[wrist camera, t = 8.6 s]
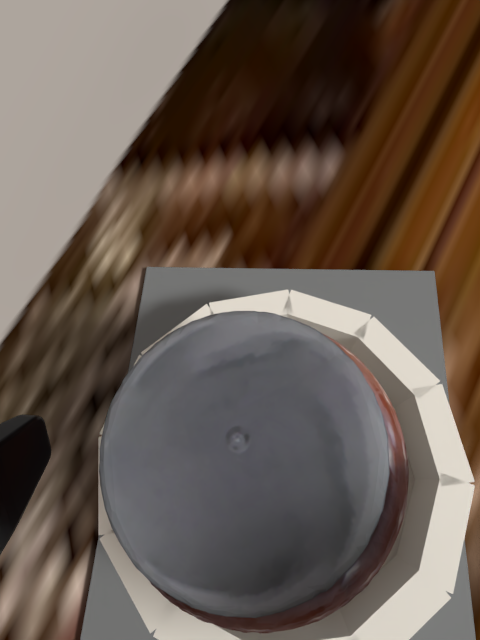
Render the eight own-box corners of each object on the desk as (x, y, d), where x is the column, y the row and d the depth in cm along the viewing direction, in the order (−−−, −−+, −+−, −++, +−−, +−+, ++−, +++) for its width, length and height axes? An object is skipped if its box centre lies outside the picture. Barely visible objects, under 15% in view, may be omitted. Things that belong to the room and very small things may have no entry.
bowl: (499, 491, 15) (556, 494, 12) (252, 728, 14) (242, 804, 10) (293, 278, 20) (294, 238, 16) (83, 437, 18) (39, 427, 15)
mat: (486, 779, 13) (492, 788, 13) (71, 712, 15) (66, 718, 14) (431, 275, 19) (434, 271, 19) (149, 270, 21) (146, 267, 21)
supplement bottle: (168, 446, 17) (-35, 382, 6) (287, 364, 17) (284, 182, 7) (251, 592, 14) (149, 876, 4) (383, 491, 15) (591, 507, 5)
